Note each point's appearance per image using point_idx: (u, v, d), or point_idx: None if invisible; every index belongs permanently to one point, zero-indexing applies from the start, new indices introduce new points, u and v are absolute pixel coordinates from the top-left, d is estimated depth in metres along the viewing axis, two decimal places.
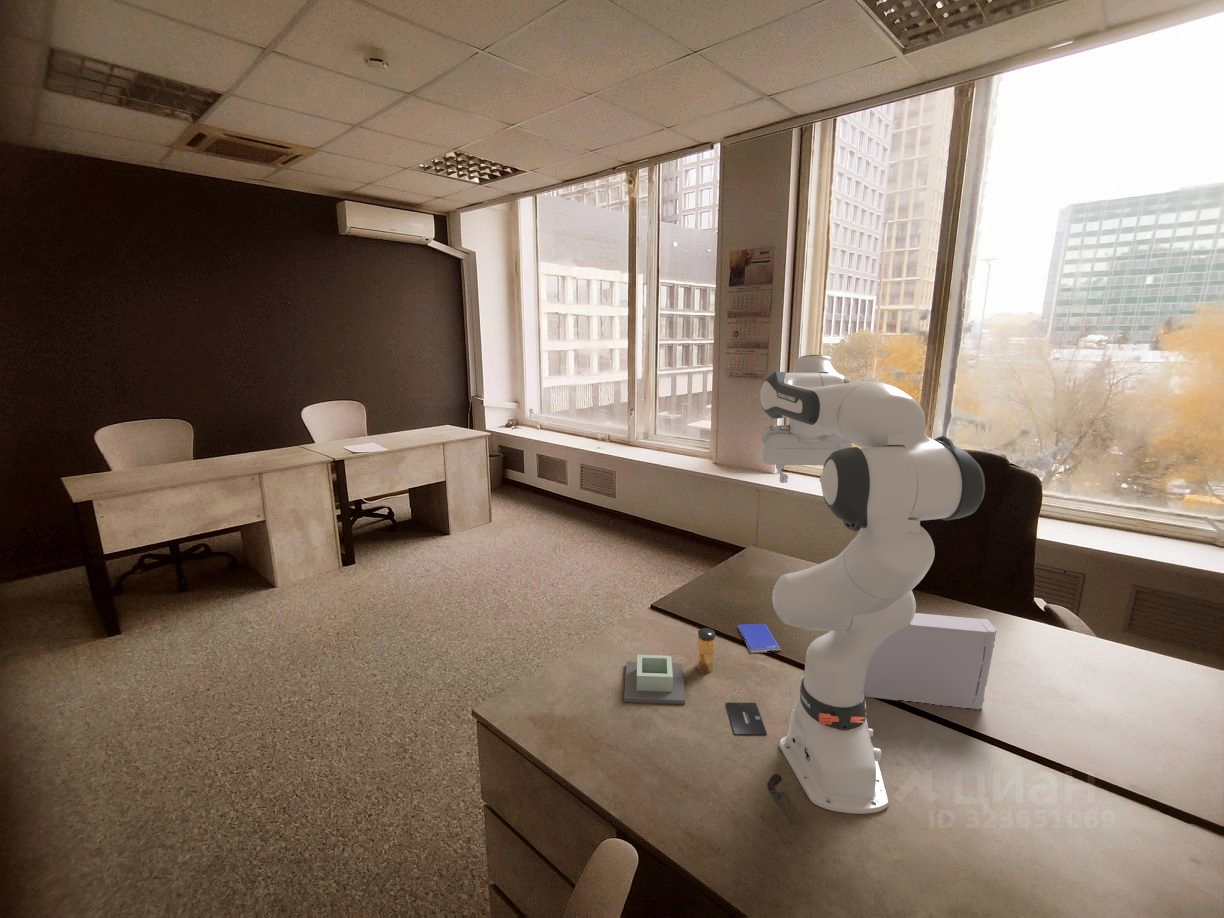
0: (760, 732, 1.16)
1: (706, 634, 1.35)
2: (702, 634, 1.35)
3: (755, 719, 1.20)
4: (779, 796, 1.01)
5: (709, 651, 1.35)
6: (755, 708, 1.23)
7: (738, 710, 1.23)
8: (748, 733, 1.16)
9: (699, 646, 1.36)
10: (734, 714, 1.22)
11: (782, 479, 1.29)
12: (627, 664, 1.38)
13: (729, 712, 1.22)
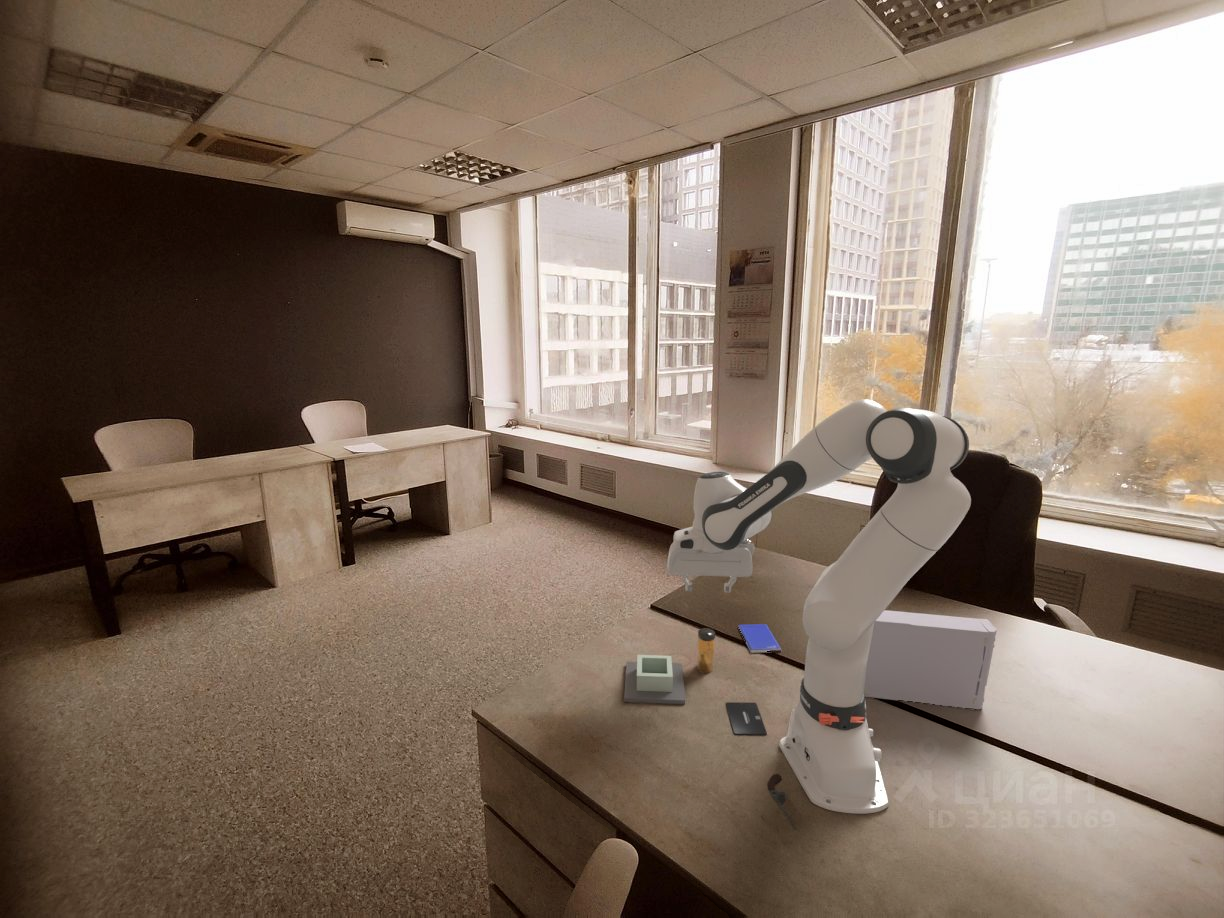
0: (760, 732, 1.16)
1: (706, 634, 1.35)
2: (702, 634, 1.35)
3: (756, 718, 1.20)
4: (779, 796, 1.01)
5: (709, 651, 1.35)
6: (755, 708, 1.23)
7: (738, 710, 1.23)
8: (748, 733, 1.16)
9: (699, 646, 1.36)
10: (734, 714, 1.22)
11: None
12: (627, 664, 1.38)
13: (729, 712, 1.22)
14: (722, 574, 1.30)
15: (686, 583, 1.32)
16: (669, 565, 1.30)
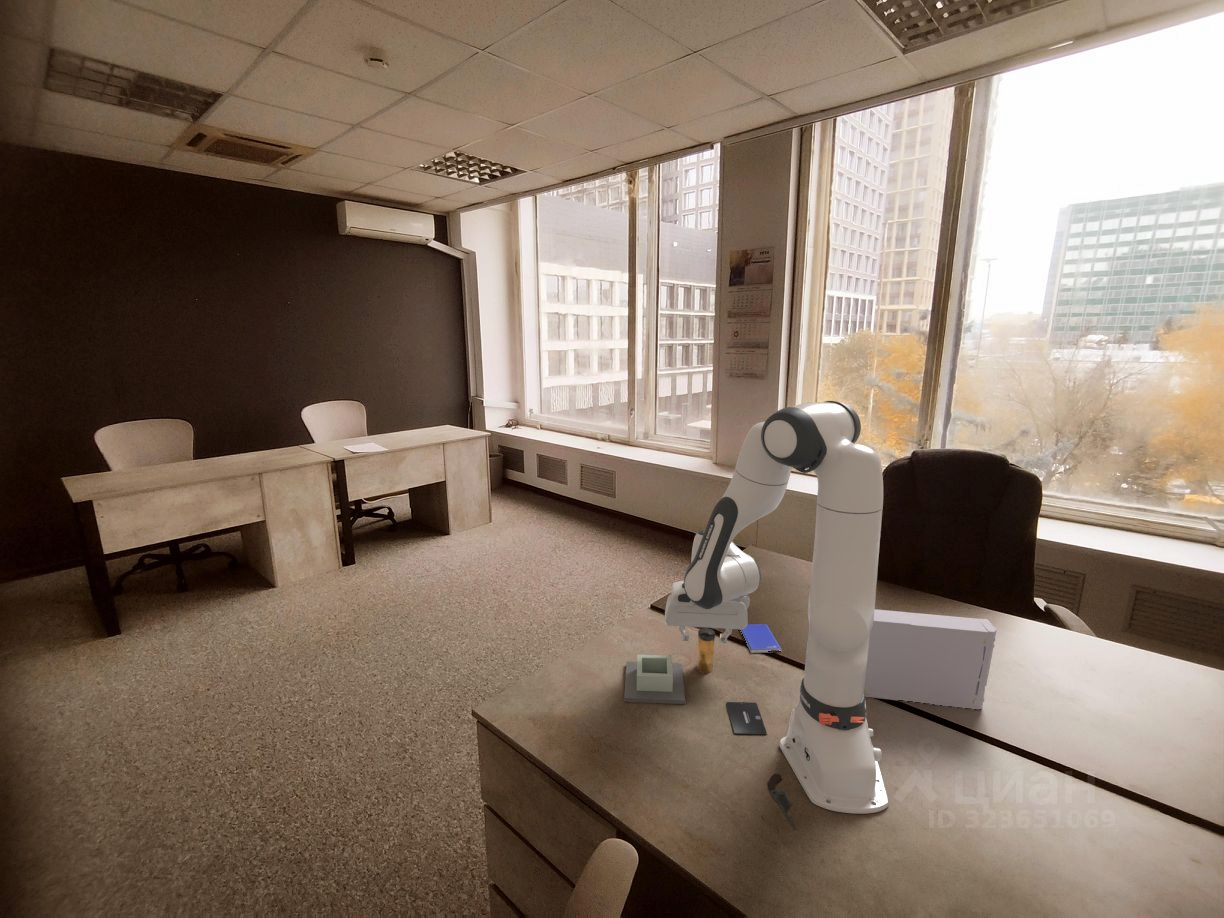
0: (760, 732, 1.16)
1: (706, 634, 1.35)
2: (702, 634, 1.35)
3: (756, 718, 1.20)
4: (779, 796, 1.01)
5: (709, 651, 1.35)
6: (756, 708, 1.23)
7: (738, 709, 1.23)
8: (748, 732, 1.16)
9: (699, 646, 1.36)
10: (734, 713, 1.22)
11: None
12: (627, 664, 1.38)
13: (729, 711, 1.22)
14: (718, 626, 1.34)
15: (683, 634, 1.36)
16: (667, 617, 1.34)
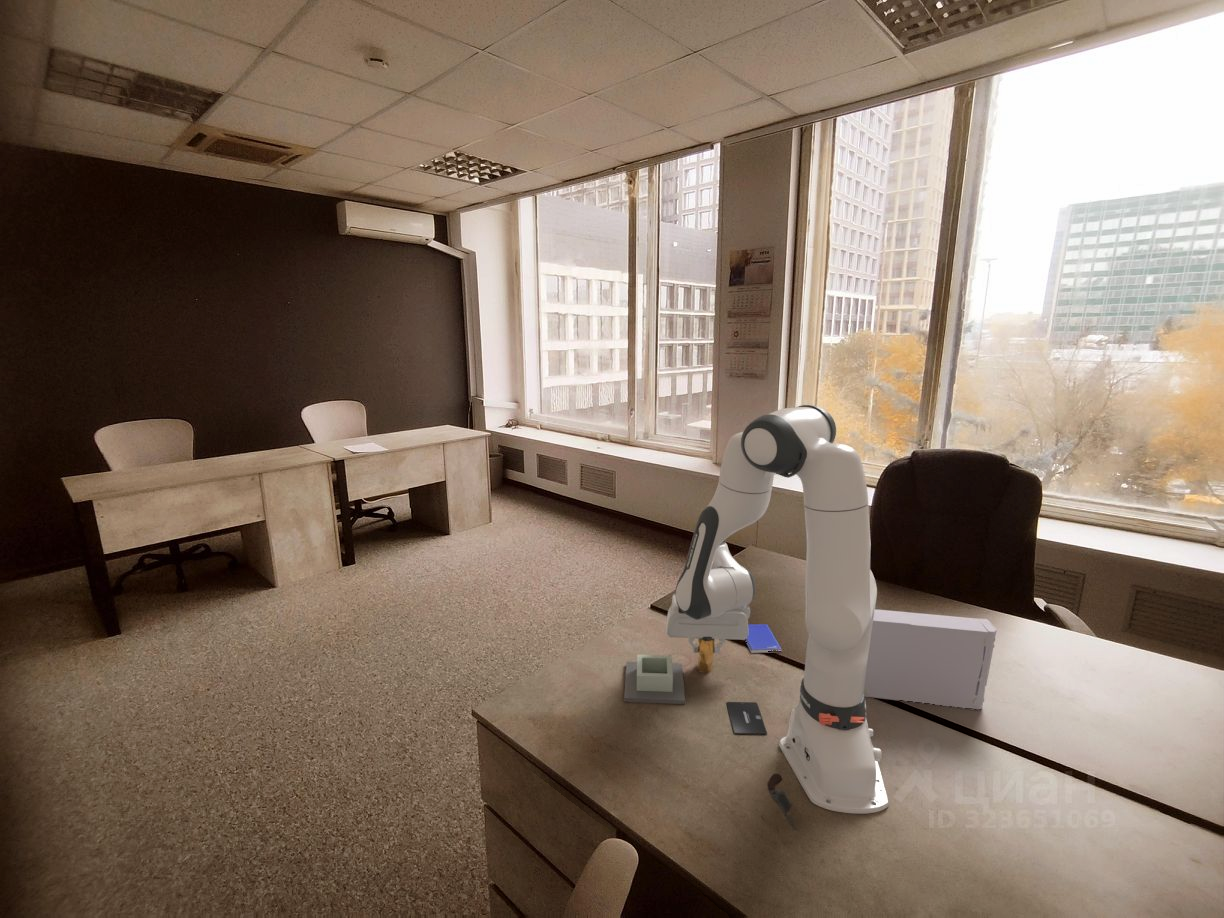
0: (760, 731, 1.16)
1: None
2: None
3: (756, 718, 1.20)
4: (779, 796, 1.01)
5: (709, 651, 1.35)
6: (756, 708, 1.23)
7: (738, 709, 1.23)
8: (748, 732, 1.16)
9: (699, 646, 1.36)
10: (735, 713, 1.22)
11: None
12: (627, 664, 1.38)
13: (730, 711, 1.23)
14: (719, 637, 1.34)
15: (693, 645, 1.36)
16: (668, 629, 1.34)
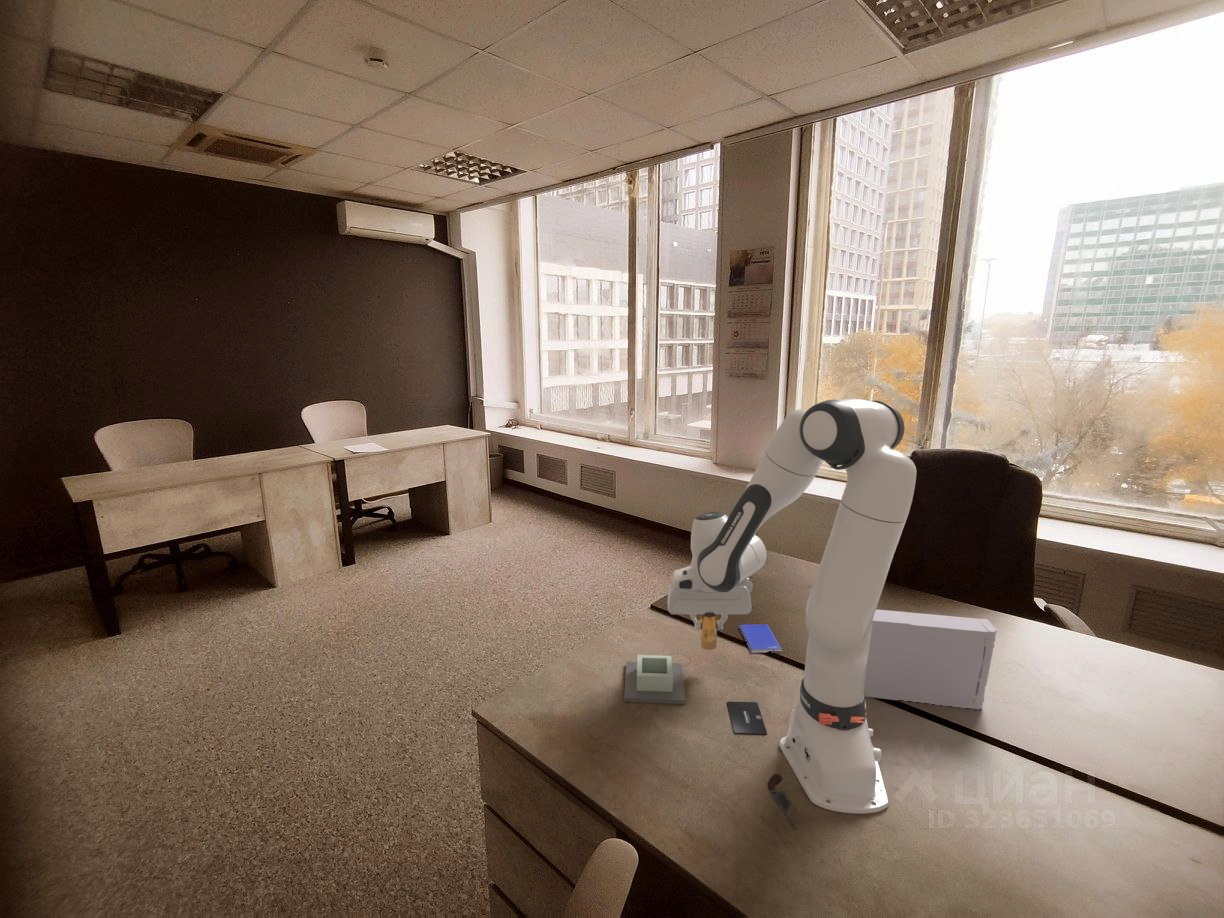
0: (760, 731, 1.16)
1: None
2: None
3: (756, 718, 1.20)
4: (779, 796, 1.01)
5: (712, 627, 1.33)
6: (756, 708, 1.24)
7: (739, 709, 1.23)
8: (748, 732, 1.16)
9: (701, 623, 1.34)
10: (735, 713, 1.22)
11: None
12: (627, 664, 1.38)
13: (730, 711, 1.23)
14: (722, 612, 1.32)
15: (695, 622, 1.34)
16: (669, 605, 1.32)
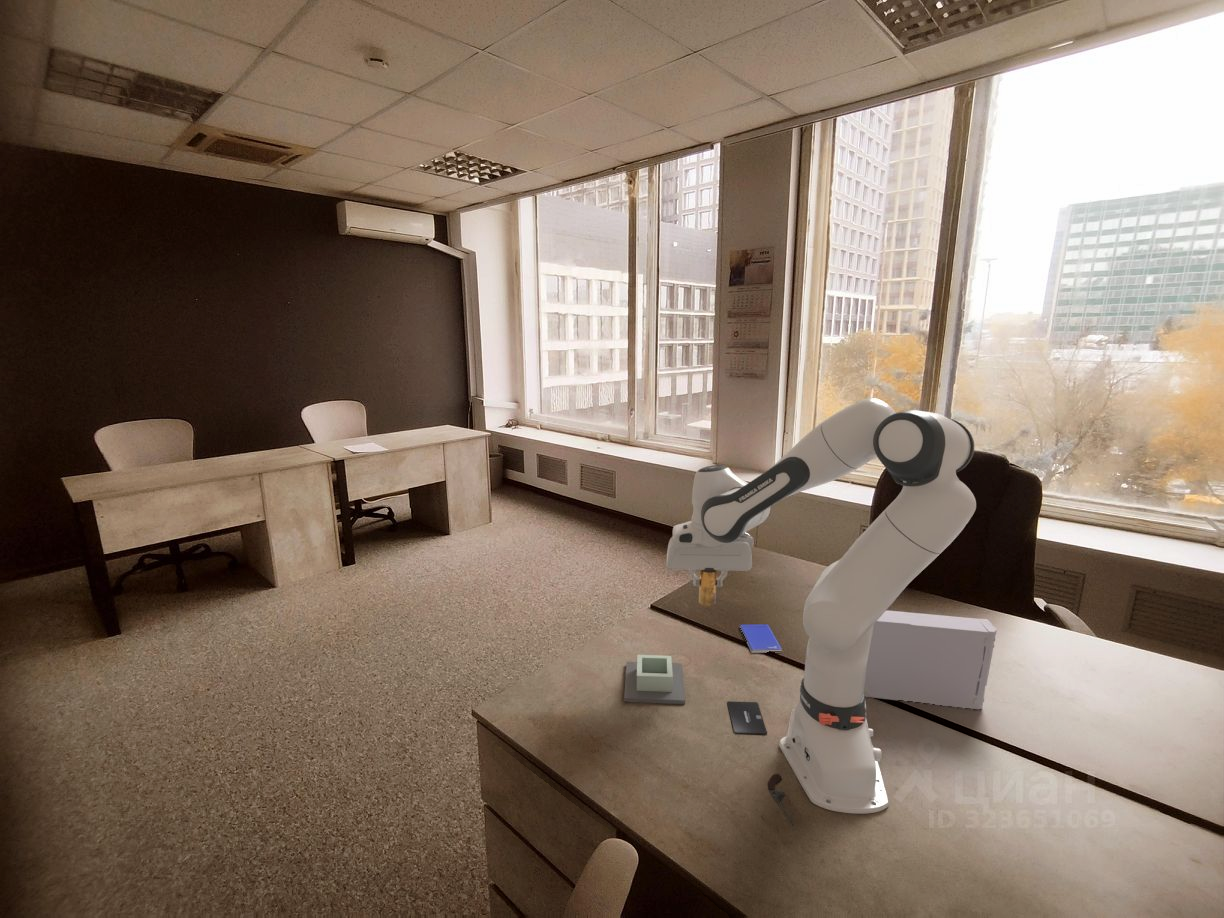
0: (760, 731, 1.16)
1: None
2: None
3: (756, 718, 1.20)
4: (779, 796, 1.01)
5: (711, 583, 1.31)
6: (757, 708, 1.24)
7: (739, 709, 1.23)
8: (748, 732, 1.16)
9: (701, 578, 1.32)
10: (735, 713, 1.22)
11: None
12: (627, 664, 1.38)
13: (730, 711, 1.23)
14: (721, 568, 1.30)
15: (694, 578, 1.32)
16: (668, 560, 1.30)
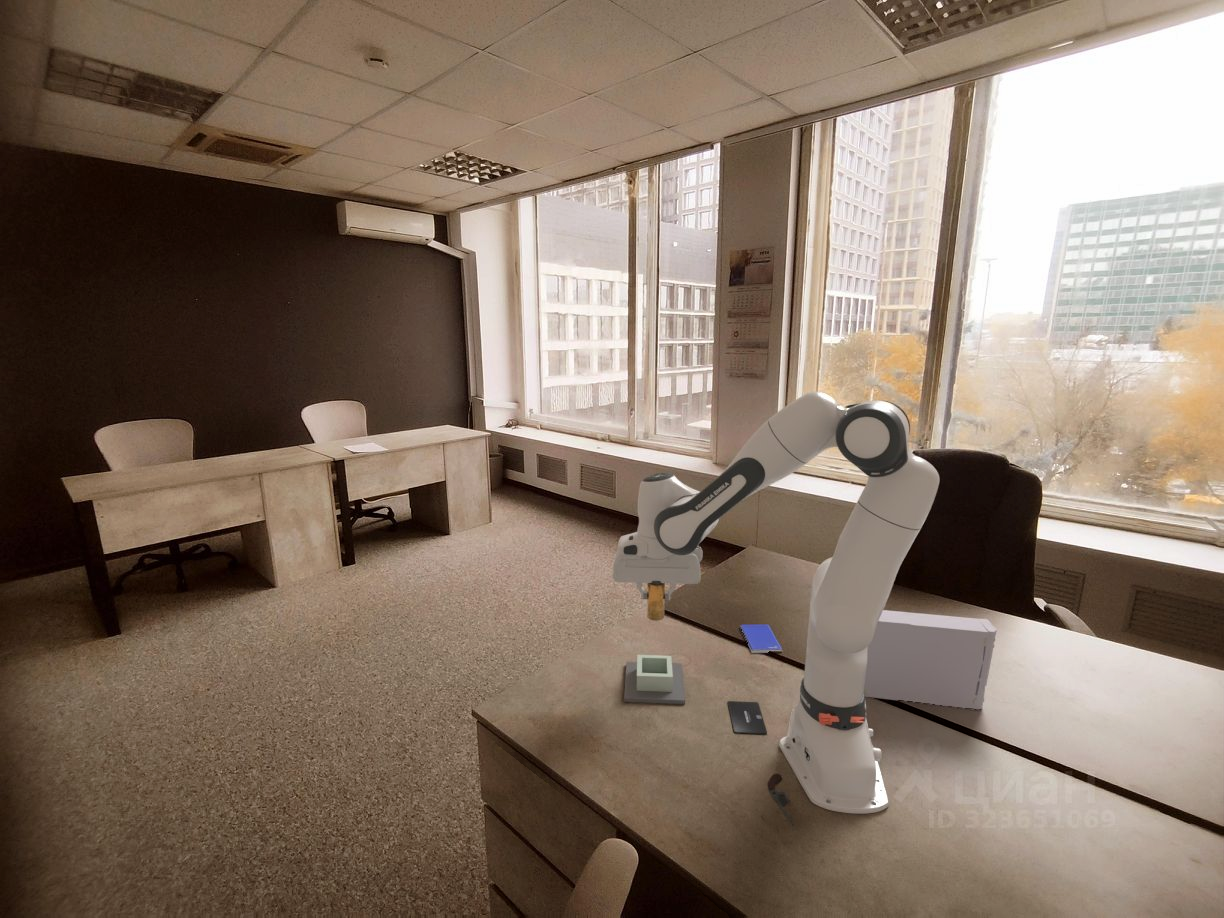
0: (760, 731, 1.17)
1: None
2: None
3: (757, 718, 1.20)
4: (779, 796, 1.01)
5: (658, 596, 1.25)
6: (757, 708, 1.24)
7: (739, 709, 1.23)
8: (748, 732, 1.16)
9: (648, 592, 1.26)
10: (735, 713, 1.22)
11: None
12: (627, 664, 1.38)
13: (730, 710, 1.23)
14: (669, 581, 1.24)
15: (641, 591, 1.26)
16: (613, 572, 1.24)
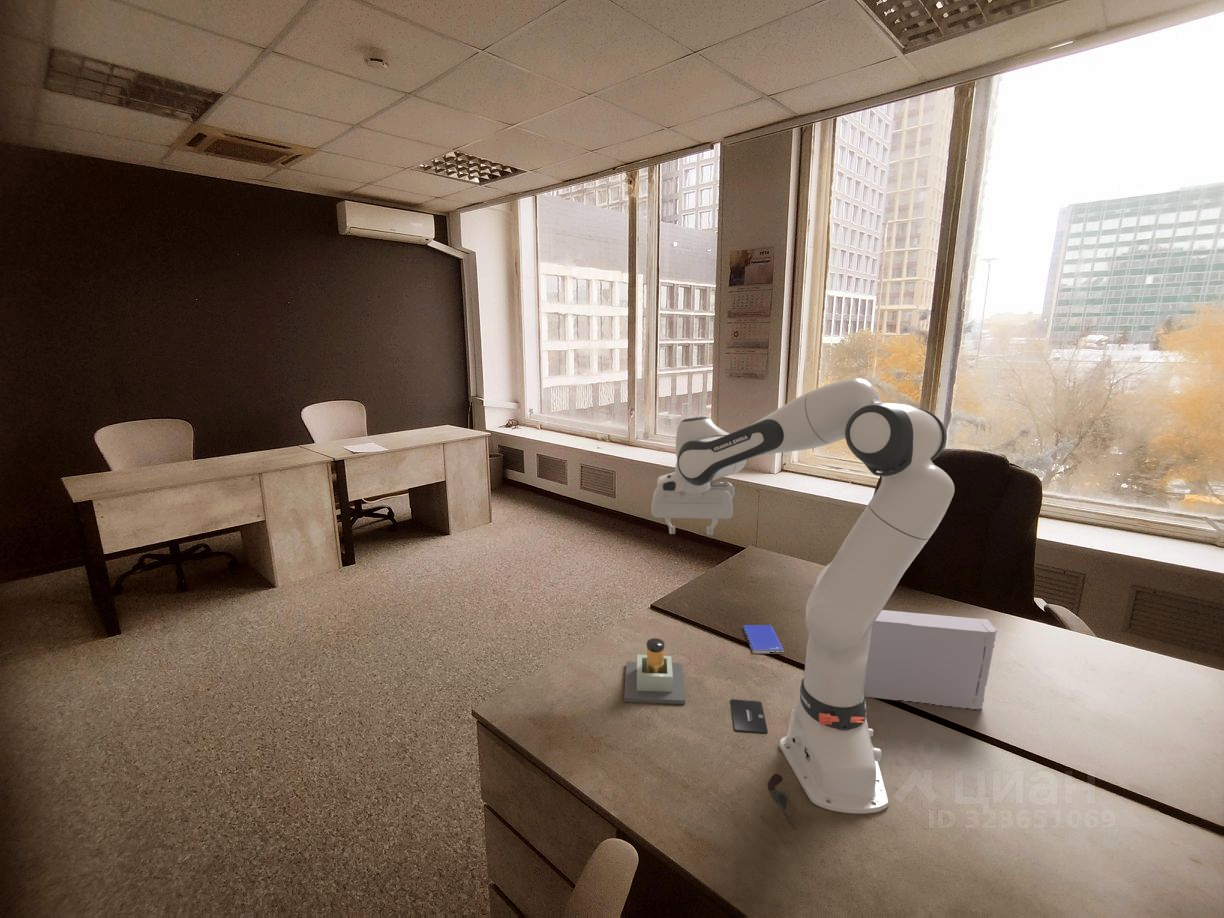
0: (761, 730, 1.17)
1: (654, 645, 1.29)
2: (650, 645, 1.29)
3: (758, 717, 1.21)
4: (779, 796, 1.01)
5: (657, 662, 1.29)
6: (760, 707, 1.24)
7: (742, 707, 1.24)
8: (749, 730, 1.17)
9: (648, 657, 1.30)
10: (737, 711, 1.23)
11: None
12: (627, 664, 1.38)
13: (733, 708, 1.23)
14: (704, 516, 1.35)
15: (669, 526, 1.38)
16: (653, 508, 1.36)
